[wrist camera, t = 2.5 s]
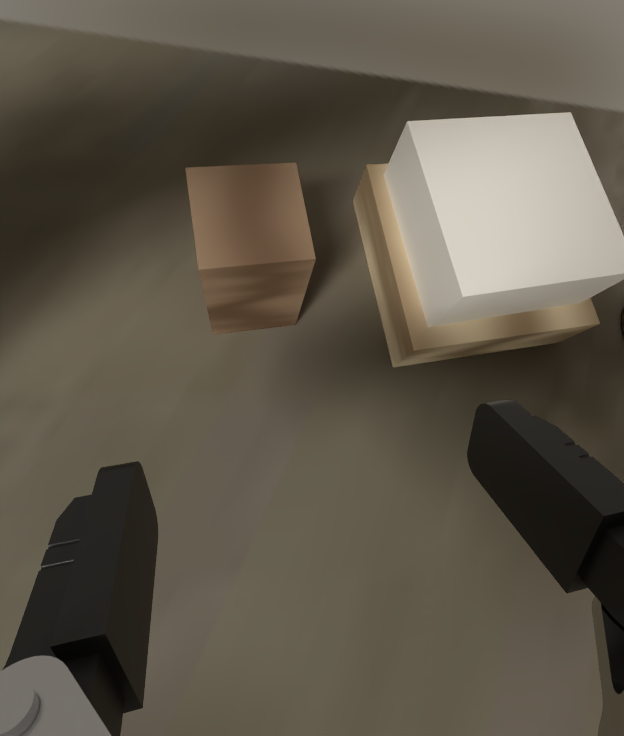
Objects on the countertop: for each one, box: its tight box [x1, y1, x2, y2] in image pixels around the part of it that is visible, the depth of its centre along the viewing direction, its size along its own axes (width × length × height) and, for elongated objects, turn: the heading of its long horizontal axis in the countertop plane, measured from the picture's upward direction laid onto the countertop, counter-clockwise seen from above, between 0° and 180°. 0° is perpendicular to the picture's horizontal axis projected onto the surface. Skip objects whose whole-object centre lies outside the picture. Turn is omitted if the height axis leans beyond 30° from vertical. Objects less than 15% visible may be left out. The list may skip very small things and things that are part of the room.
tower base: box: [353, 164, 600, 367], centre depth 27 cm, size 12×12×4 cm
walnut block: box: [185, 162, 316, 335], centre depth 22 cm, size 5×5×8 cm
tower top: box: [384, 112, 624, 327], centre depth 24 cm, size 10×10×4 cm
